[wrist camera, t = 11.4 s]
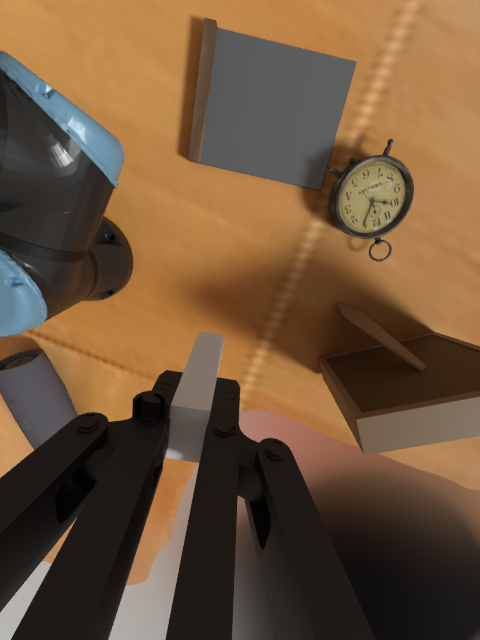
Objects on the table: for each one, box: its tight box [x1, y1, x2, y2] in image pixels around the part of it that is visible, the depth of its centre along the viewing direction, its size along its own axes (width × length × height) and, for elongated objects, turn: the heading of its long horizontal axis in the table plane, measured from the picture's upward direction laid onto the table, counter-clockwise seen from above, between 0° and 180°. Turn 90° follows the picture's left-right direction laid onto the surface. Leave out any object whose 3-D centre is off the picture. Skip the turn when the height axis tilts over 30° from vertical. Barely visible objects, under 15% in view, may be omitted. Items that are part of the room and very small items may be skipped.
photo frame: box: [318, 302, 480, 455], centre depth 41 cm, size 15×22×25 cm
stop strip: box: [188, 18, 218, 163], centre depth 39 cm, size 2×16×2 cm, turn 169°
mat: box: [195, 28, 356, 190], centre depth 40 cm, size 20×16×1 cm
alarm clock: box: [328, 139, 414, 262], centre depth 42 cm, size 11×5×16 cm
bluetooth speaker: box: [0, 349, 78, 450], centre depth 56 cm, size 23×9×10 cm, turn 10°
